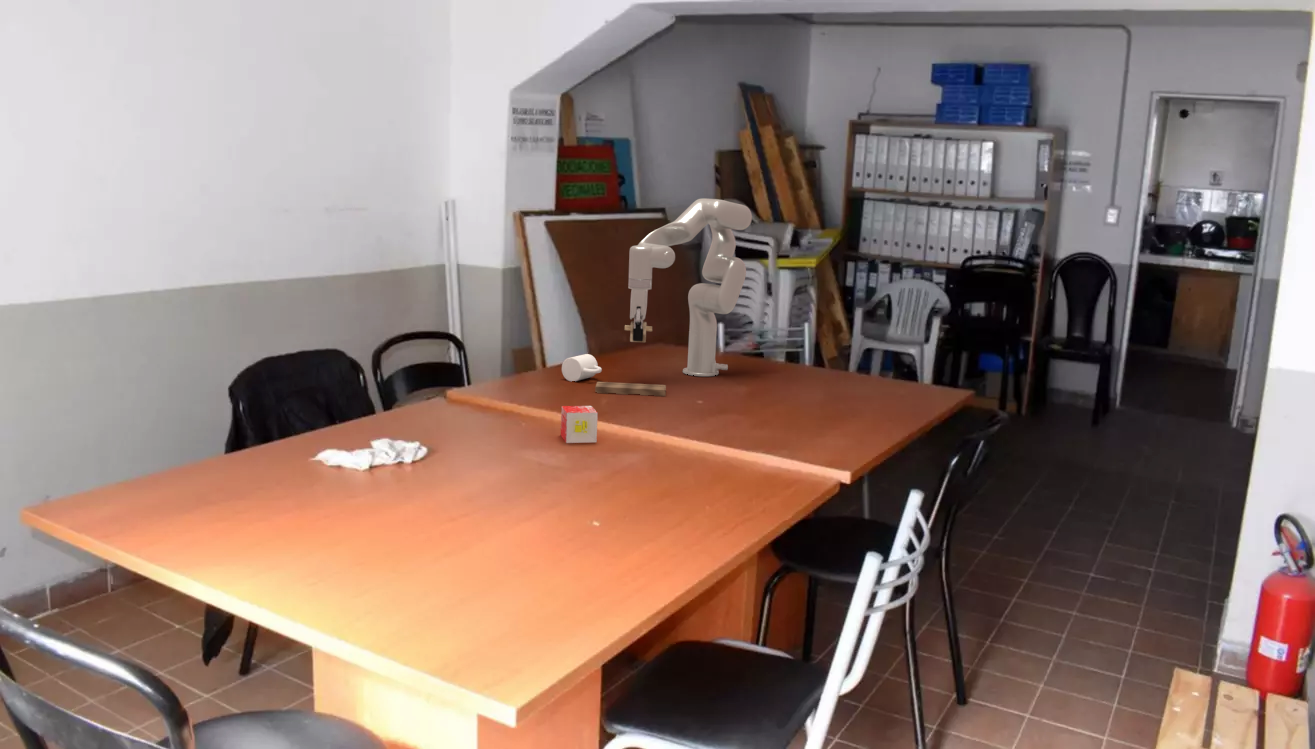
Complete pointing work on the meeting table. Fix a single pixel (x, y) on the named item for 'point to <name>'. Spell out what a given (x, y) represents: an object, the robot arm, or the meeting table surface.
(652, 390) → the board
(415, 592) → the meeting table surface
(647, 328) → the beige block with peg
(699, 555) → the meeting table surface
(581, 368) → the mug
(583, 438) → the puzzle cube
